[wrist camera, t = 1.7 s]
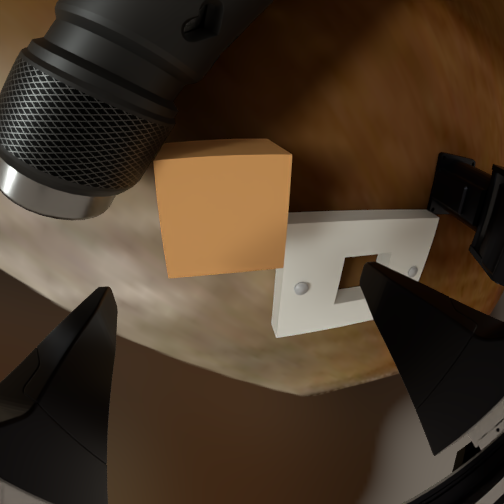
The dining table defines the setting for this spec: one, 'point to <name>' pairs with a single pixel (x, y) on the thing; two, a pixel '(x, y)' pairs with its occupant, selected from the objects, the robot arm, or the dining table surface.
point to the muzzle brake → (104, 96)
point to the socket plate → (332, 259)
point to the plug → (223, 205)
